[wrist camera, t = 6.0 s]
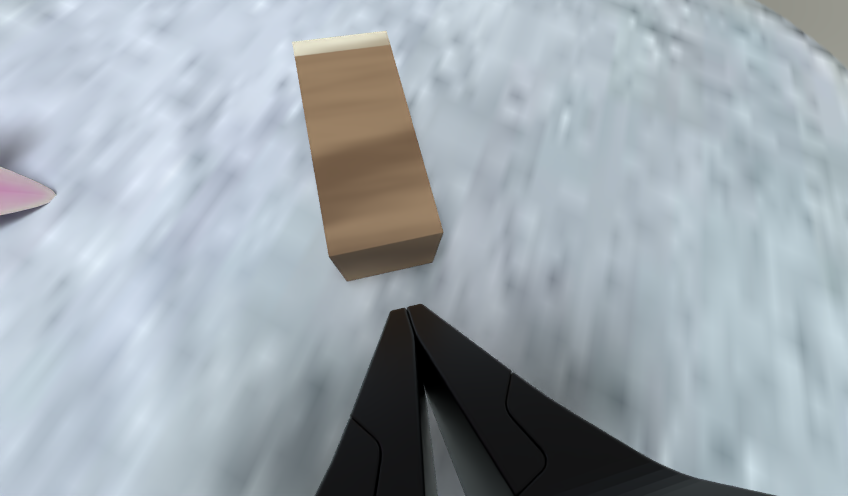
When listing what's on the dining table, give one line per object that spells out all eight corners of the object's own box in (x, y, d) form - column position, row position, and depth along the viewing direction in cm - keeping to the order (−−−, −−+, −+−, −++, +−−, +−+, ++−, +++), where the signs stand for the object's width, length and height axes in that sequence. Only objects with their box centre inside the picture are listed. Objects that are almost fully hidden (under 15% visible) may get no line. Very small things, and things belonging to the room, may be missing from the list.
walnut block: (443, 232, 14) (386, 30, 18) (328, 256, 14) (292, 42, 17) (432, 262, 19) (389, 99, 22) (347, 281, 18) (315, 110, 22)
